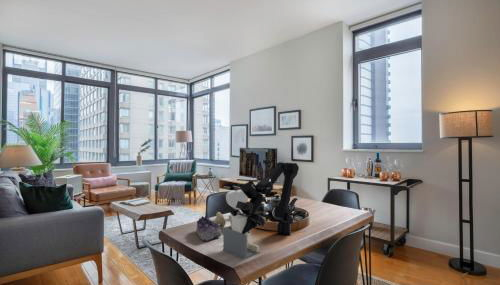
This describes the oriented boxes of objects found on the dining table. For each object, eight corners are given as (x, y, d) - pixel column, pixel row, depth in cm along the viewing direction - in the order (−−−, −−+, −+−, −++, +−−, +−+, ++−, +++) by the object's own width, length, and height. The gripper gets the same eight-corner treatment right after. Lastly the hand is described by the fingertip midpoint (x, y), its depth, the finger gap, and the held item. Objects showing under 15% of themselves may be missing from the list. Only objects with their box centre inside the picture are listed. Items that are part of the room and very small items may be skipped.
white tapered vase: (240, 243, 125) (240, 214, 125) (249, 247, 121) (248, 216, 121) (231, 247, 121) (231, 217, 121) (240, 250, 117) (239, 219, 117)
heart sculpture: (245, 214, 182) (244, 188, 183) (249, 216, 178) (248, 189, 178) (225, 218, 174) (225, 191, 174) (229, 220, 169) (229, 192, 170)
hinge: (250, 232, 146) (244, 216, 145) (243, 236, 144) (237, 220, 143) (238, 224, 161) (233, 209, 160) (231, 227, 160) (226, 213, 158)
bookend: (238, 244, 130) (238, 223, 130) (259, 252, 120) (259, 230, 120) (223, 250, 122) (222, 228, 122) (244, 259, 113) (243, 236, 113)
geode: (189, 232, 148) (191, 214, 149) (208, 231, 154) (210, 214, 155) (201, 242, 131) (203, 221, 132) (222, 241, 136) (224, 221, 137)
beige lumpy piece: (206, 222, 149) (201, 218, 157) (211, 235, 151) (205, 231, 158) (222, 213, 155) (216, 210, 162) (227, 226, 156) (220, 223, 163)
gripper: (232, 191, 130) (214, 219, 122) (260, 197, 117) (242, 227, 109) (244, 205, 136) (227, 231, 128) (271, 211, 123) (255, 241, 115)
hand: (237, 232), depth 120 cm, fingers closed on white tapered vase, 5 cm apart
